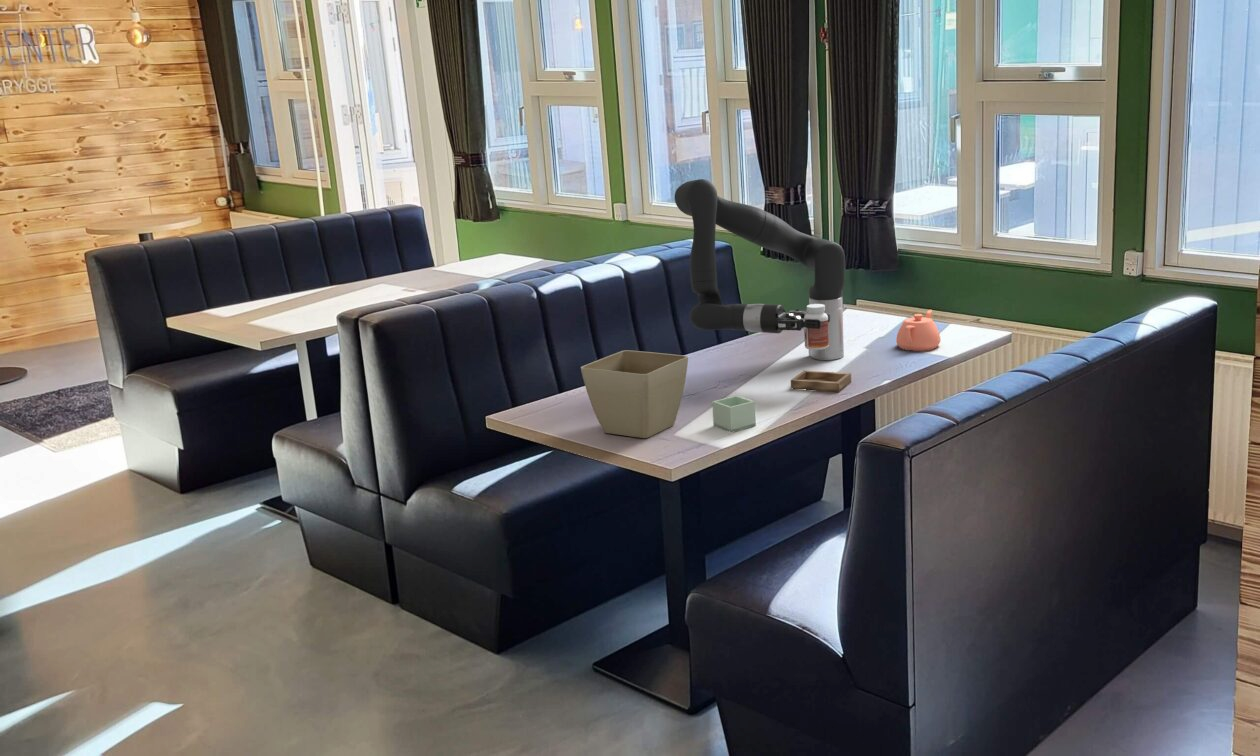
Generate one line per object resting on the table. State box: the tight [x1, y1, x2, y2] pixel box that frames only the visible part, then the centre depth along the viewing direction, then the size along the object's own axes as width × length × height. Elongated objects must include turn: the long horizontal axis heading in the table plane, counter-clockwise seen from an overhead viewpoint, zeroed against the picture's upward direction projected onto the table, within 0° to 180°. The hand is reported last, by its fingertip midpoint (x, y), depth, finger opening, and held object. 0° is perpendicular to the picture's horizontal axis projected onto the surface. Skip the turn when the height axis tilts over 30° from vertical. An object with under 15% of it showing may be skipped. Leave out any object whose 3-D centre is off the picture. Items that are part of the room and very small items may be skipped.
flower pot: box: [580, 349, 689, 439], centre depth 292 cm, size 19×19×17 cm
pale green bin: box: [711, 395, 757, 433], centre depth 291 cm, size 7×7×6 cm
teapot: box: [895, 309, 941, 352], centre depth 352 cm, size 12×18×10 cm
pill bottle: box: [803, 304, 829, 350], centre depth 315 cm, size 6×6×11 cm
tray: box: [790, 369, 852, 393], centre depth 320 cm, size 13×10×2 cm
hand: (825, 321), depth 313 cm, fingers closed on pill bottle, 6 cm apart
